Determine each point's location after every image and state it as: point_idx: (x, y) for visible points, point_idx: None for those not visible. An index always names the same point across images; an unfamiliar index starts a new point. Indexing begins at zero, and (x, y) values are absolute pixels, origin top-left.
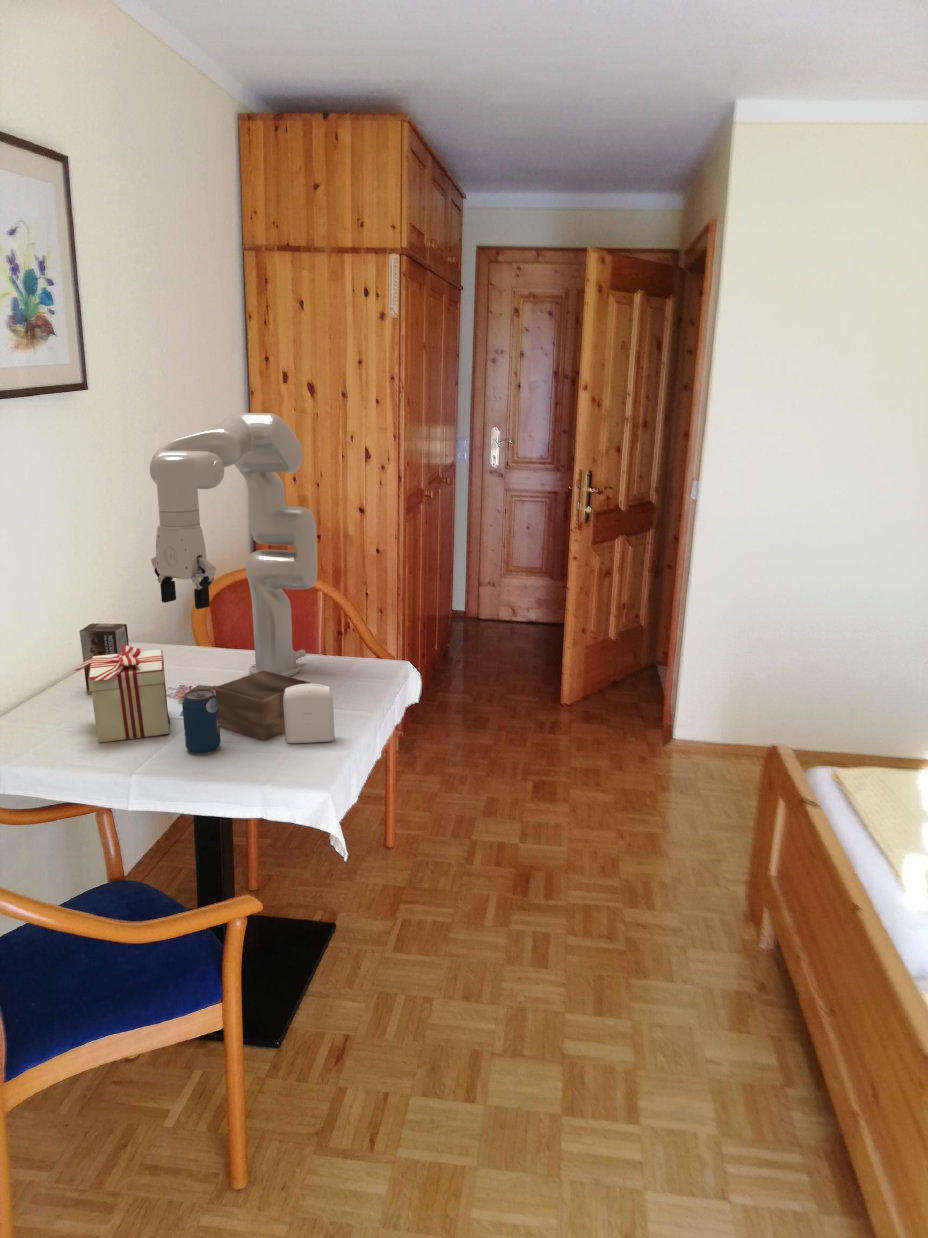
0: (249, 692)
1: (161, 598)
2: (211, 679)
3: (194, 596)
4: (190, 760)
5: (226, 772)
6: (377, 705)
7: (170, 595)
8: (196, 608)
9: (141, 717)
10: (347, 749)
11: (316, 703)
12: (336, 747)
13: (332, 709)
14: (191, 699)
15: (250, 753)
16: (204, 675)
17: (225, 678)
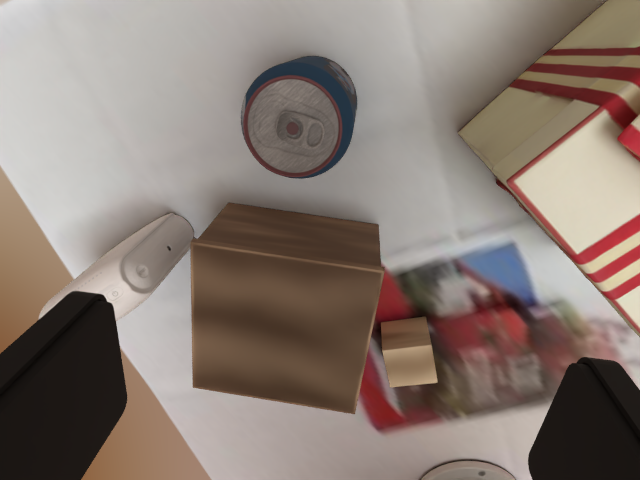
0: (266, 279)
1: (636, 387)
2: None
3: (27, 386)
4: (294, 27)
5: (165, 13)
6: (174, 421)
7: (568, 467)
8: (89, 292)
9: (529, 88)
10: (60, 239)
11: (69, 284)
12: (84, 238)
13: None
14: (281, 76)
15: (203, 133)
16: None
17: None
